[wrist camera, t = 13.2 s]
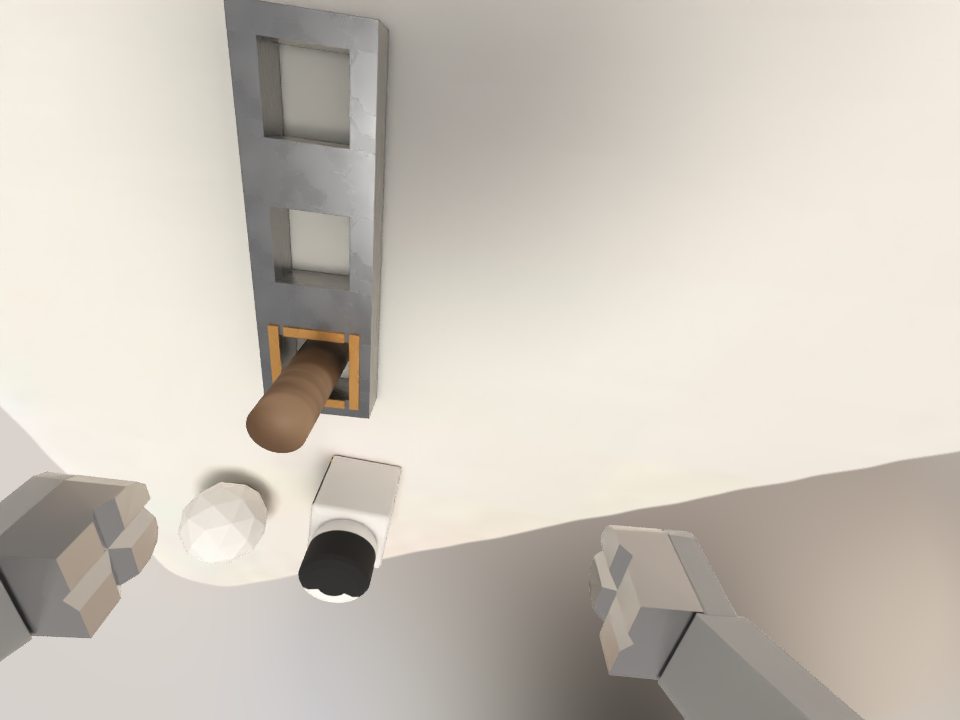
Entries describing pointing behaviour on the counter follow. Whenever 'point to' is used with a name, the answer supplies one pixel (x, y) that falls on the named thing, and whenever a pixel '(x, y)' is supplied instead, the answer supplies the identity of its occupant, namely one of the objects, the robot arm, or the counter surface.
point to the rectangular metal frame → (311, 190)
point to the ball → (223, 523)
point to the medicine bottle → (348, 528)
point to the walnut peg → (297, 396)
